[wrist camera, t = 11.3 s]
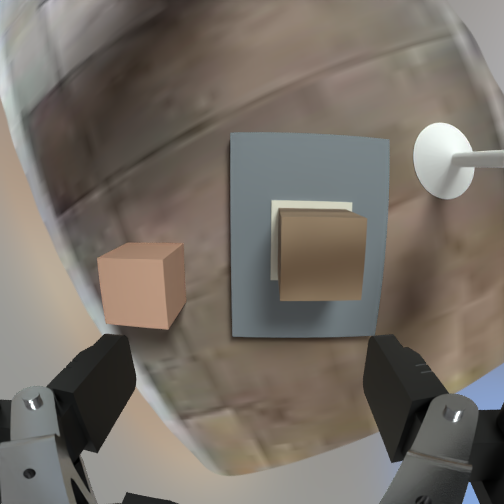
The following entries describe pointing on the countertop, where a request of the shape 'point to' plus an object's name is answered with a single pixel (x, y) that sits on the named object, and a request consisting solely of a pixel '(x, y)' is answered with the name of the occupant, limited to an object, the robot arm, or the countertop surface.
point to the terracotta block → (143, 284)
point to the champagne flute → (449, 160)
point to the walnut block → (320, 254)
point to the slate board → (302, 196)
